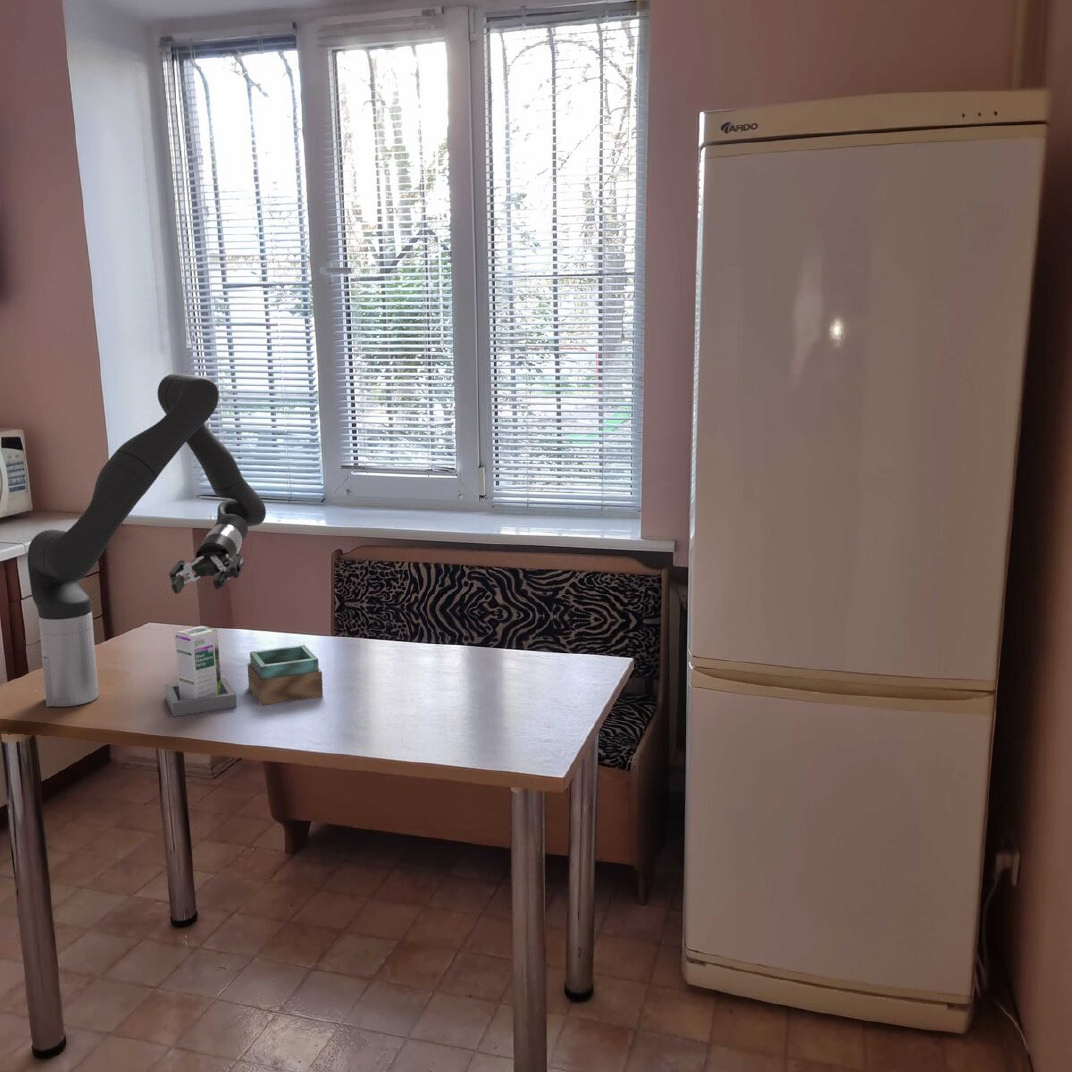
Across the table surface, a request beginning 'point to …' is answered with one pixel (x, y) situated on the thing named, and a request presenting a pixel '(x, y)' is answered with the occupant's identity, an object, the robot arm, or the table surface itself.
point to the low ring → (200, 700)
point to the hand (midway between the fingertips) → (195, 587)
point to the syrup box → (198, 662)
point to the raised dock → (284, 675)
